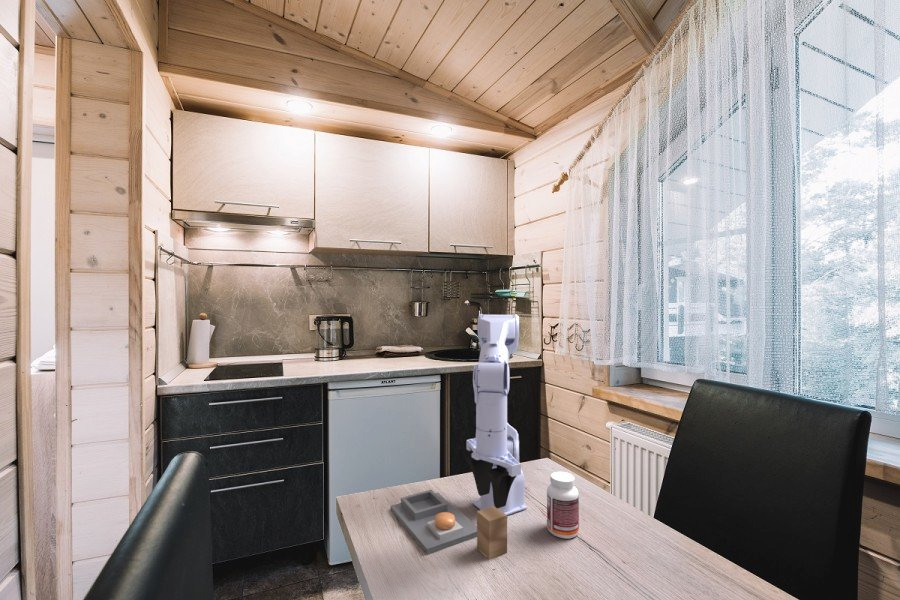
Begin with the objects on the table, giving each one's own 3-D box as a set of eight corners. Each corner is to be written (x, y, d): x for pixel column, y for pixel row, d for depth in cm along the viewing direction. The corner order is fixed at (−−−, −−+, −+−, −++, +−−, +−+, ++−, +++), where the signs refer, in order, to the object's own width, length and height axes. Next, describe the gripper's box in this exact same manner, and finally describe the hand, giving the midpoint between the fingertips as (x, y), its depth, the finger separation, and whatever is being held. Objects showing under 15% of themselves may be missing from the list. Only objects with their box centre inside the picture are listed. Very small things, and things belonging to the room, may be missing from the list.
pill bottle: (585, 533, 82) (585, 478, 82) (564, 543, 78) (564, 486, 78) (561, 519, 87) (561, 467, 87) (540, 528, 84) (540, 474, 84)
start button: (448, 516, 85) (448, 510, 85) (458, 525, 81) (458, 519, 81) (431, 521, 83) (431, 515, 83) (440, 531, 79) (440, 525, 79)
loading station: (438, 496, 97) (438, 486, 97) (481, 535, 81) (481, 522, 81) (390, 510, 91) (390, 499, 91) (427, 554, 75) (426, 540, 75)
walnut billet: (494, 541, 79) (494, 505, 79) (507, 552, 76) (507, 515, 76) (477, 548, 77) (476, 511, 77) (489, 560, 74) (489, 521, 74)
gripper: (453, 420, 81) (453, 489, 81) (497, 443, 68) (497, 524, 68) (483, 414, 84) (483, 481, 84) (530, 435, 71) (530, 513, 72)
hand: (491, 500), depth 76 cm, fingers open, 5 cm apart
